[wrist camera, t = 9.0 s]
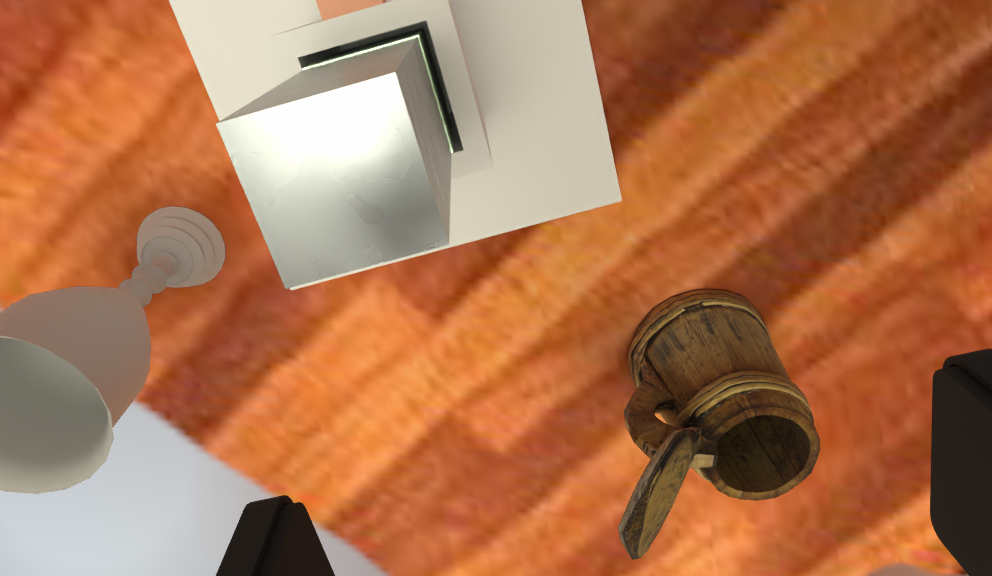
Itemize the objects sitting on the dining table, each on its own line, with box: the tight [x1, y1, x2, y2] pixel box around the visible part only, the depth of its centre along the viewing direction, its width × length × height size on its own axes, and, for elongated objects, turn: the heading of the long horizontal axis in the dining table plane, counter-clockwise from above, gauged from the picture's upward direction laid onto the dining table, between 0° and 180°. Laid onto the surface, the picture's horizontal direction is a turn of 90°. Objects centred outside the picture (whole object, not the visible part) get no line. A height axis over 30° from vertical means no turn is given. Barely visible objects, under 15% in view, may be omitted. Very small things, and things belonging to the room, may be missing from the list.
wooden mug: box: [618, 289, 820, 559], centre depth 39 cm, size 9×14×18 cm, turn 82°
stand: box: [169, 0, 622, 290], centre depth 34 cm, size 20×20×12 cm
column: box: [216, 27, 453, 289], centre depth 25 cm, size 4×4×16 cm
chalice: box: [0, 206, 225, 494], centre depth 34 cm, size 7×7×18 cm
